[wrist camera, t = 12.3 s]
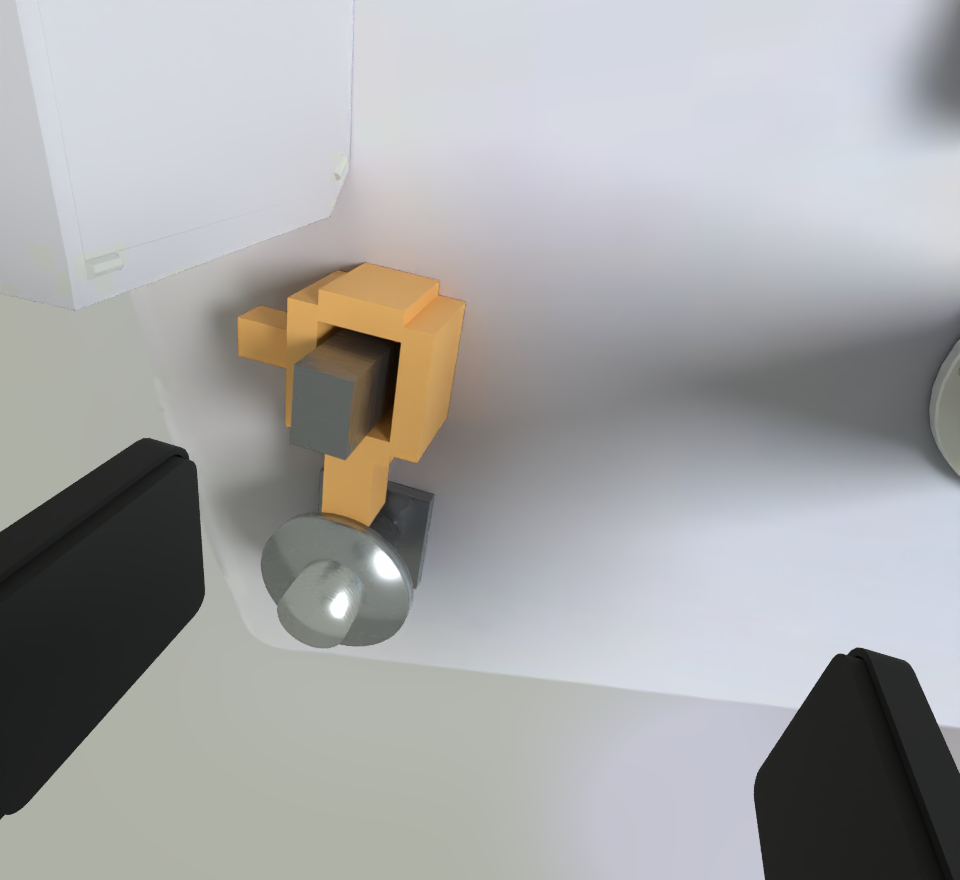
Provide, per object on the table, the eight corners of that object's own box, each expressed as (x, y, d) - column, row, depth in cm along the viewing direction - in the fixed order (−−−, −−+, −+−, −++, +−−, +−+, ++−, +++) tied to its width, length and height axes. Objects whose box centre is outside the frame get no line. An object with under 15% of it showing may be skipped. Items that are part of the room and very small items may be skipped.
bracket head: (468, 287, 37) (437, 319, 31) (435, 488, 44) (405, 541, 39) (275, 240, 38) (216, 263, 33) (274, 442, 45) (225, 486, 40)
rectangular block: (421, 317, 38) (353, 382, 30) (411, 383, 40) (345, 460, 32) (374, 304, 38) (294, 364, 30) (367, 370, 41) (289, 442, 32)
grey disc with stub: (450, 486, 43) (399, 582, 35) (431, 594, 48) (382, 701, 40) (313, 447, 45) (232, 531, 36) (309, 556, 50) (236, 652, 41)
